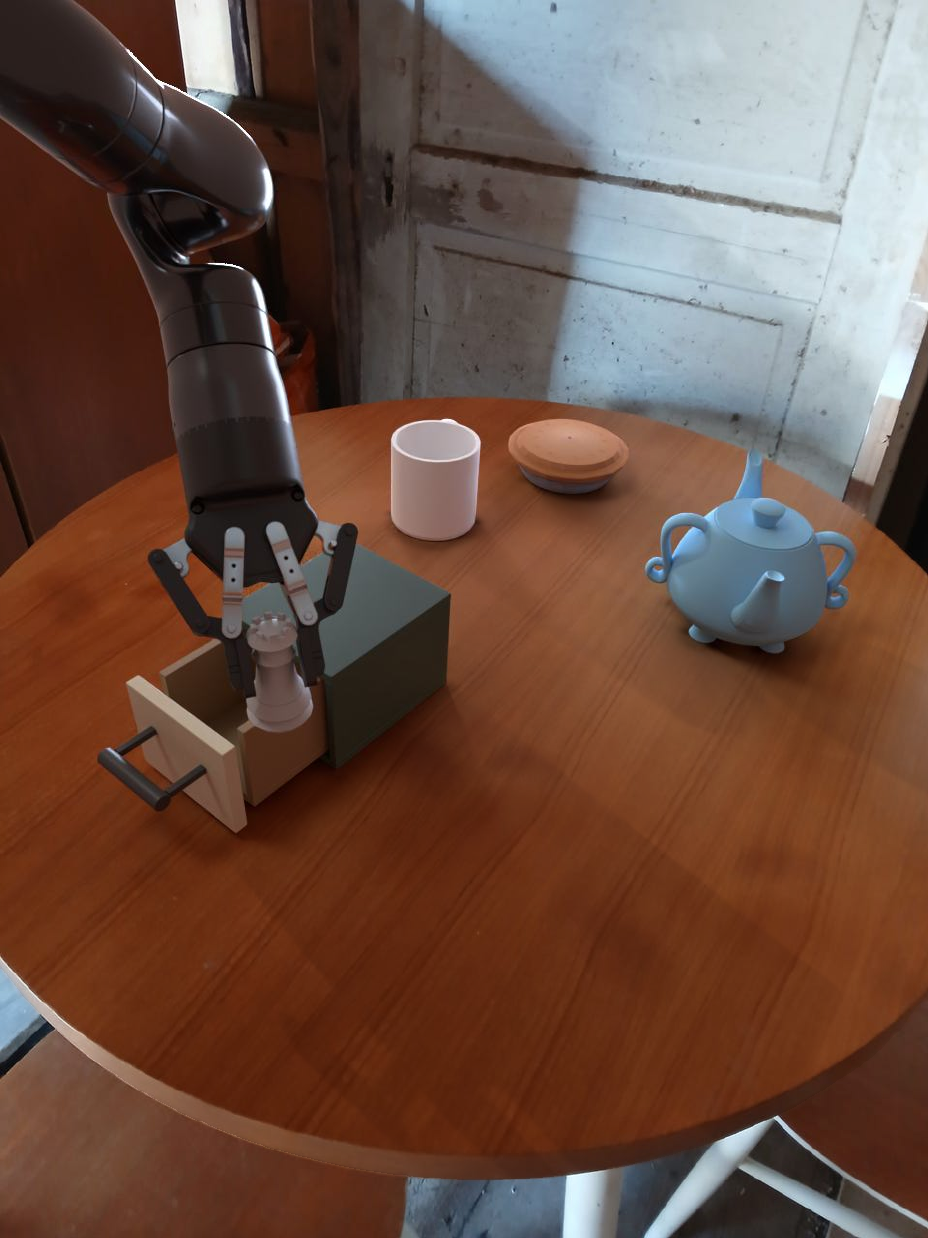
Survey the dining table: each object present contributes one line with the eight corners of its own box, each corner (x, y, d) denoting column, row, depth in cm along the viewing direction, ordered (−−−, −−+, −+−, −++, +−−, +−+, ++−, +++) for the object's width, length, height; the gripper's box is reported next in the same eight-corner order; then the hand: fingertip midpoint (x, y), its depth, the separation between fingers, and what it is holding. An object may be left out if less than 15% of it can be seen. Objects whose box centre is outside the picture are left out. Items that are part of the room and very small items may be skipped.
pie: (631, 506, 112) (638, 471, 109) (506, 499, 112) (509, 463, 109) (618, 447, 124) (624, 413, 121) (505, 440, 124) (508, 407, 121)
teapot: (737, 697, 86) (778, 578, 77) (614, 586, 99) (636, 473, 90) (856, 649, 92) (905, 534, 84) (725, 550, 105) (756, 442, 97)
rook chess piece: (279, 747, 59) (268, 656, 54) (233, 715, 61) (218, 625, 56) (327, 710, 62) (321, 620, 57) (282, 681, 64) (272, 592, 59)
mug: (465, 547, 103) (470, 468, 97) (380, 533, 104) (380, 454, 98) (487, 493, 113) (492, 417, 106) (409, 481, 114) (410, 405, 108)
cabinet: (336, 770, 76) (331, 677, 70) (237, 701, 82) (223, 609, 75) (446, 682, 85) (451, 593, 79) (350, 625, 91) (347, 537, 85)
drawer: (185, 873, 67) (167, 794, 61) (94, 793, 72) (70, 714, 66) (358, 738, 78) (355, 661, 72) (268, 678, 83) (260, 602, 78)
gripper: (114, 424, 53) (163, 712, 52) (348, 401, 57) (399, 668, 56) (126, 460, 61) (170, 714, 59) (333, 437, 65) (378, 675, 63)
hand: (281, 690), depth 58 cm, fingers closed on rook chess piece, 3 cm apart
